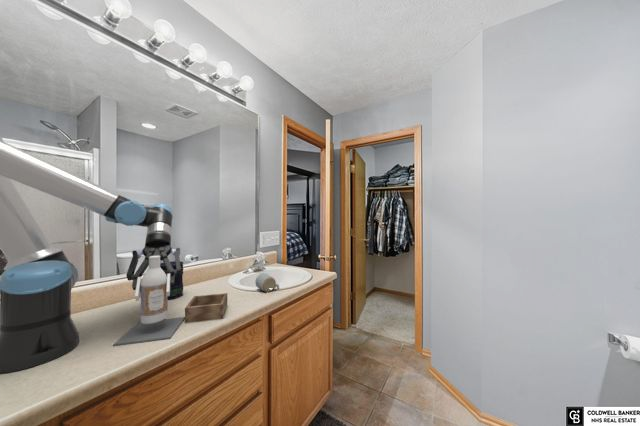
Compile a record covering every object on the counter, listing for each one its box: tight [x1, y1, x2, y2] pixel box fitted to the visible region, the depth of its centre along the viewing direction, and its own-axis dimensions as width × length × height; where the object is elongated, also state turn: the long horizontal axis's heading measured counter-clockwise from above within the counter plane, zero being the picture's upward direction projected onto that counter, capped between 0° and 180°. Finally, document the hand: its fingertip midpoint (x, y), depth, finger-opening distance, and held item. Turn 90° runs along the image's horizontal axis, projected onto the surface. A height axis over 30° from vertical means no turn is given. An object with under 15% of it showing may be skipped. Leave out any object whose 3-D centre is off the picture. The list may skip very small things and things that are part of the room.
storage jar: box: [160, 260, 184, 301], centre depth 102 cm, size 10×10×15 cm
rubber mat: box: [112, 316, 185, 347], centre depth 72 cm, size 14×14×1 cm
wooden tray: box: [184, 292, 228, 324], centre depth 84 cm, size 12×12×5 cm
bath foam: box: [139, 256, 169, 324], centre depth 72 cm, size 7×7×20 cm
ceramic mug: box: [255, 272, 280, 293], centre depth 112 cm, size 11×8×8 cm
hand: (153, 296), depth 69 cm, fingers closed on bath foam, 7 cm apart
